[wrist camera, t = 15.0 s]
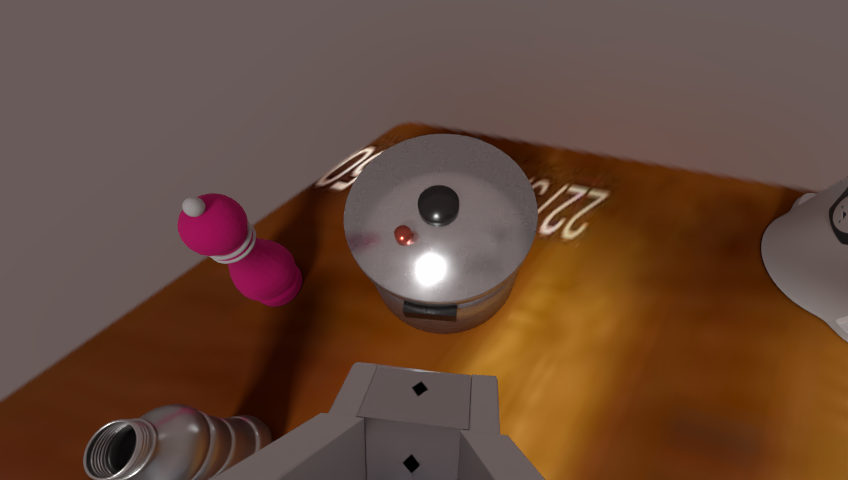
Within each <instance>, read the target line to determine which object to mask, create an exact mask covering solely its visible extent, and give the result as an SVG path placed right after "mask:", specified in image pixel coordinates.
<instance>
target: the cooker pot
mask: <svg viewBox="0 0 848 480" xmlns="http://www.w3.org/2000/svg"><path fill="white" fill-rule="evenodd" d="M475 139H478V140H480V138H475ZM517 272H518V271H517ZM517 272H516V273H515V274H514V275H513V276H512V277H511V278H510V279H509V280H508V281H507V282H506V283H505V284H504V285H502V286H501V287H499V288H498V289H497V290H495V291H494V292H492V293H490V294H488V295H486V296H484V297H482V298H480V299H477V300H474V301H471V302H468V303H464V304H460V305H454V306H444V307H439V306H424V305H418V304H414V303H410V302H407V301H403V300H401V299H399V298H396V297H394V296H392V295H390V294H389V293H387V292H385V291H384V290H382V289H381V288H379V287H378V286H377V285H376V284H375V286H376V288H377V290H378V292H379V294H380V296H381V298H382V300H383V301H384V303H385V304H386V306H387V307H388V308H389V309H390V310H391V312H392V313H393V314H394V315H396V316H397V317H398V318H399V319H400V320H402V321H403V322H405V323H406V324H408V325H410V326H412V327H414V328H416V329H419V330H422V331H426V332H430V333H437V334H451V333H459V332H463V331H467V330H470V329H472V328H475V327H477V326H479V325H481V324H483V323H484V322H486V321H487V320H489V319H490V318H491V317H493V316H494V315H495V314H496V313H497V312H498V311H499V310H500V309H501V307H502V306H503V305H504V304H505V302H506V300H507V299H508V297H509V295H510V293H511V290H512V288H513V285H514V282H515V279H516V276H517Z"/></svg>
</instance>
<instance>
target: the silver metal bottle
mask: <svg viewBox="0 0 848 480" xmlns="http://www.w3.org/2000/svg"><path fill="white" fill-rule="evenodd" d="M272 442H273V441H272V435H271V432H270V430H269V428H268V426H267V425H266V424H265V423H264V422H262V421H261V420H260V419H258V418H256V417H254V416H250V415H239V416H233V417H229V418H218V417H215V416H211V415H207V414H205V413H203V412H201V411H199V410H197V409H195V408H193V407H190V406H187V405H182V404H170V405H166V406H162V407H159V408H156V409H154V410H151V411H149V412H147V413H146V414H144V415H143V416H141V417H140V418H139V419H130V420H129V419H120V420H115V421H112V422H109V423H107V424H106V425H104V426H103V427H101V428H100V429H99V430H98V431H97V432H96V433H95V434H94V435H93V436H92V438H91V439H90V441H89V443H88V445H87V447H86V449H85V452H84V457H83V465H84V469H85V471H86V473H87V475H88V476H89V477H91V478H92V479H95V480H211V479H213V478H215V477H216V476H218V475H220V474H221V473H223V472H224V471H226V470H228V469H229V468H231V467H233V466H234V465H236V464H238V463H239V462H241V461H243V460H244V459H246V458H248V457H249V456H251V455H253V454H254V453H256V452H257V451H259V450H261V449H262V448H264V447H266V446H267V445H269V444H271V443H272Z"/></svg>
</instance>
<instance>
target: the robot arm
mask: <svg viewBox="0 0 848 480" xmlns="http://www.w3.org/2000/svg"><path fill="white" fill-rule="evenodd" d="M761 252H762V258H763V261H764V264H765V267H766V269H767V271H768V273H769V275H770V276H771V278H772V280H773V281H774V282H775V284H776V285H777V286H778V287H779V288H780V289H781V291H782V292H783V293H784V294H785V295H786V296H788V297H789V298H790V299H791V300H792V301H794V302H795V303H796V304H798V305H799V306H801V307H802V308H804V309H805V310H807V311H809V312H811V313H812V314H814V315H816V316H818V317H819V318H821V319H822V320H824V321H825V322H826V323H827V324H828V325H829V326H830V327H831V328H832V329H833V330H834V331H835V332H836V333H837V334H838V335H839V336H840V337H842V338H843V339H844V340H846V341H847V342H848V177H846V178H844V179H842V180H840V181H839V182H837V183H835V184H834V185H832V186H830V187H828V188H827V189H825V190H823V191H821V192H820V193H818V194H815V193H806V194H804V195H803V196H801V197H799V198H798V199H797V200H796V201H795V203H794V204H793V206H792V208H791V210H790V211H789V212H788V213H786V214H784V215H782V216H781V217H779V218H777V219H776V220H774V221H773V222H772V223H771V224H770V225H769V226H768V227H767V229H766V231H765V233H764V235H763V238H762V243H761ZM211 480H545V479H544V478H543V476H542V475H541V474H540V473H539V472H538V471H537V469H536V468H535V467H534V466H533V465H532V463H531V462H530V461H529V460H528V459H527V458H526V456H525V455H524V454H523V453H522V452H521V450H520V449H519V448H518V447H517V446H516V445H515V443H514V442H513V441H512V440H511V439H510V438H509V436H507V435H500V423H499V402H498V381H497V378H496V376H485V375H472V378H471V375H464V374H453V373H443V372H432V371H425V370H419V369H411V368H403V367H395V366H387V365H378V364H370V363H360V362H357V363H355V364H354V365H353V366H352V368H351V370H350V372H349V374H348V376H347V378H346V379H345V381H344V383H343V385H342V387H341V389H340V391H339V393H338V395H337V397H336V399H335V401H334V403H333V405H332V407H331V409H330V411H329V413H328V414H327V413H320V414H318V415H317V416H315V417H314V418H312V419H310V420H309V421H307V422H305V423H304V424H302V425H300V426H299V427H297V428H295V429H294V430H292V431H290V432H289V433H287V434H285V435H284V436H282V437H281V438H279V439H277V440H276V441H274V442H272V443H271V444H269V445H267V446H266V447H264V448H262V449H261V450H259V451H257V452H256V453H254V454H253V455H251V456H249V457H248V458H246V459H244V460H243V461H241V462H239V463H238V464H236V465H234V466H233V467H231V468H229V469H228V470H226V471H224V472H223V473H221V474H220V475H218V476H216V477H215V478H213V479H211Z"/></svg>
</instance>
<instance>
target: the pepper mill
mask: <svg viewBox="0 0 848 480" xmlns="http://www.w3.org/2000/svg"><path fill="white" fill-rule="evenodd" d="M182 206H183V210H182V212H181V213H180V215H179V219H178V232H179V234H180V237H181V239H182V241H183V242H184V243H185V244H186V245H187V246H188V247H189V248H190V249H191V250H193V251H195V252H197V253H199V254H201V255H206V256H209V257H211V258H212V259H214V260H215V261H217V262H219V263H224V264H228V266H229V270H230V275H231V278H232V281H233V283H234V285H235V286H236V288H237V289H238V290H239V291H240V292H241V293H242V294H243V295H244V296H246V297H247V298H250V299H252V300H257V301H260V302H261V303H263V304H265V305H267V306H272V307H275V306H282V305H284V304H286V303H288V302H290V301H291V300H292V299H294V297H295V296H296V295H297V294H298V292H299V291H300V288H301V286H302V274H301V271H300V269H299V268H298V267H297V266H296V265H295V261H294V258H293V256H292V254H291V253H290V252H289V251H288V250H287V249H286V248H285V247H284V246H282V245H281V244H279V243H276V242H274V241H270V240H265V239H258V238H257V237H256V232H255V229H254V228H253V226H252V225H251V224H250V223H249V222H248V221H247V216H246V213H245V211H244V210H243V208H242V207H241V206H240V204H238V203H237V202H236V201H235V200H233V199H232V198H229V197H227V196H225V195H221V194H206V195H201V196H199V197H190V198H187V199H186V200H185V201H184V202H183V205H182Z"/></svg>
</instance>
